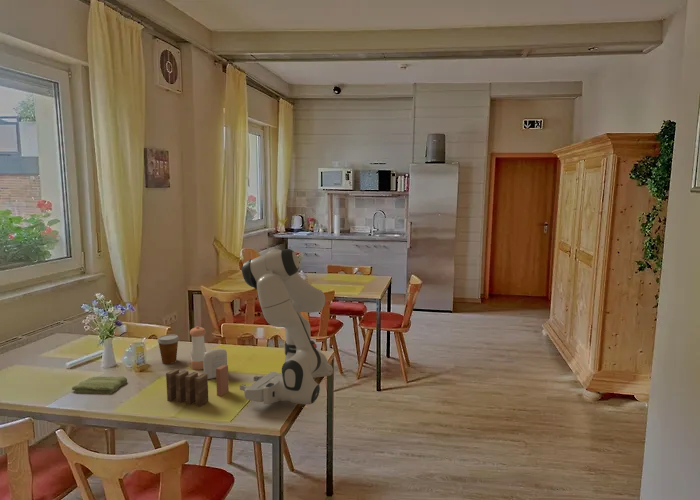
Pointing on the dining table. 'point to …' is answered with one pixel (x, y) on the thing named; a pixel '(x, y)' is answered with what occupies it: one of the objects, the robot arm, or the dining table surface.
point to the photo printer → (214, 361)
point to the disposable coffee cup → (168, 348)
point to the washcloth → (100, 385)
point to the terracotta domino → (222, 380)
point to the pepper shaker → (197, 348)
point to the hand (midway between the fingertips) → (247, 382)
